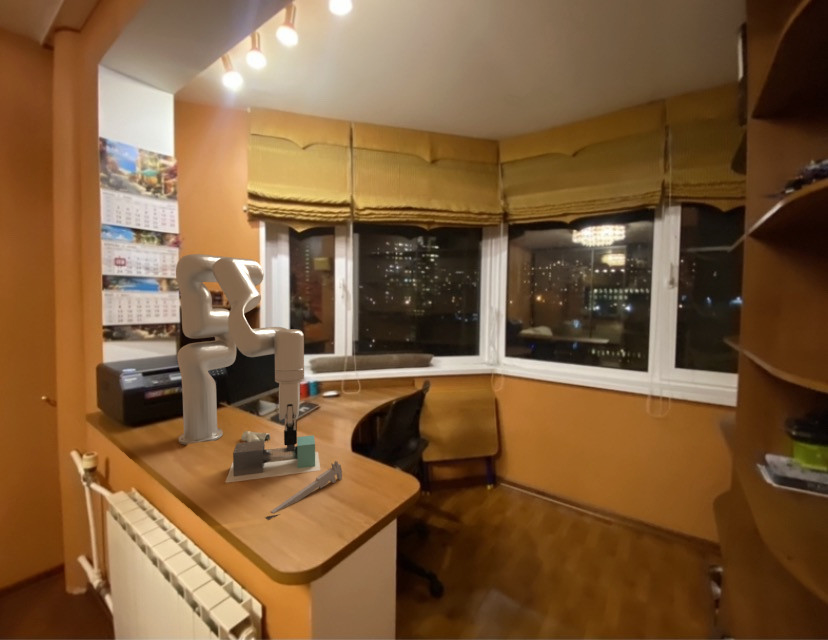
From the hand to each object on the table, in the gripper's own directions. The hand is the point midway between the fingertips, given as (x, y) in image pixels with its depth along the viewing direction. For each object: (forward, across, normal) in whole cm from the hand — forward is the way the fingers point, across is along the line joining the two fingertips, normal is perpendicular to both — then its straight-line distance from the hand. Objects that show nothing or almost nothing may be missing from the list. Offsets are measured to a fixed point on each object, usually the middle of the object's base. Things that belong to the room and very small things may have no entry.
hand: (290, 439), depth 102 cm
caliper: (+9, +18, +4) cm, 20 cm away
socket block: (+7, 0, +4) cm, 8 cm away
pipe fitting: (+9, -19, -12) cm, 24 cm away
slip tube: (+6, 0, -2) cm, 6 cm away
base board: (+8, 0, -4) cm, 9 cm away
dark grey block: (+7, 0, -10) cm, 13 cm away
